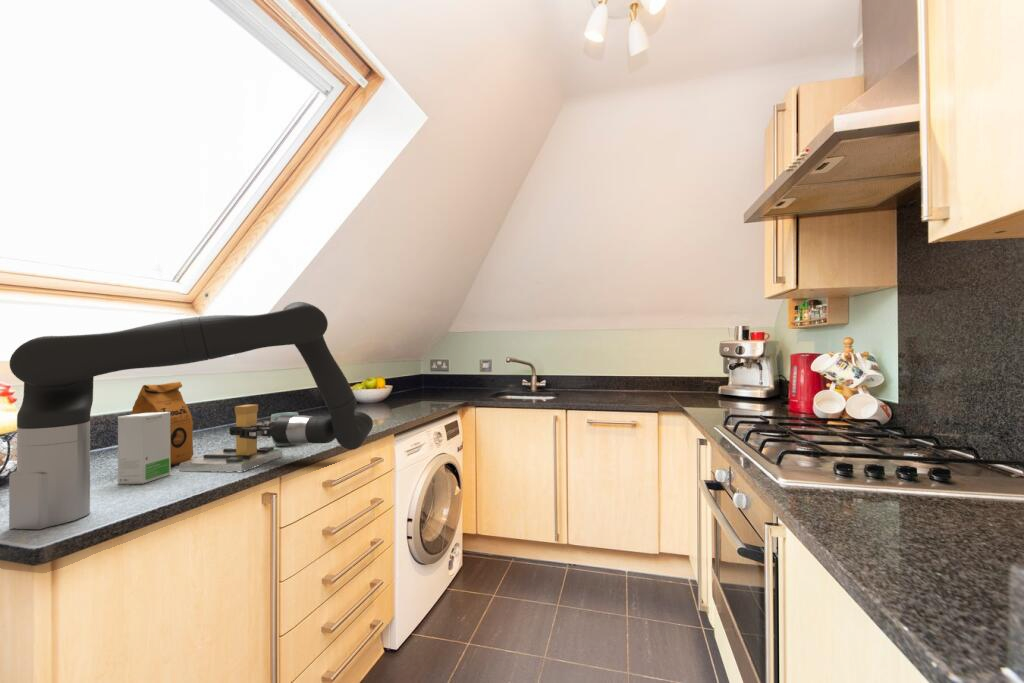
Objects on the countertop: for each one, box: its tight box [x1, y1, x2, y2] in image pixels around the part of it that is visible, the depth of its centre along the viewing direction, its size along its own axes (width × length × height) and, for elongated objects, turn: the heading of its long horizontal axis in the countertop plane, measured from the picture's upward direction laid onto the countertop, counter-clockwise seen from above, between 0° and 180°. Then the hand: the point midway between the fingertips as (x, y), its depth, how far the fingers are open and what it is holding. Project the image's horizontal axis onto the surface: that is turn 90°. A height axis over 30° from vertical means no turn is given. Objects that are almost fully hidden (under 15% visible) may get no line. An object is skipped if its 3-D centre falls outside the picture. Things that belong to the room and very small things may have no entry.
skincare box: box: [117, 412, 172, 485], centre depth 104 cm, size 8×7×16 cm
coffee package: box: [131, 381, 194, 466], centre depth 117 cm, size 10×12×22 cm
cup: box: [270, 411, 299, 447], centre depth 140 cm, size 8×8×10 cm
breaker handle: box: [234, 404, 259, 455], centre depth 118 cm, size 4×3×13 cm
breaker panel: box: [179, 446, 283, 473], centre depth 118 cm, size 16×17×3 cm
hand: (237, 429), depth 119 cm, fingers closed on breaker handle, 4 cm apart
